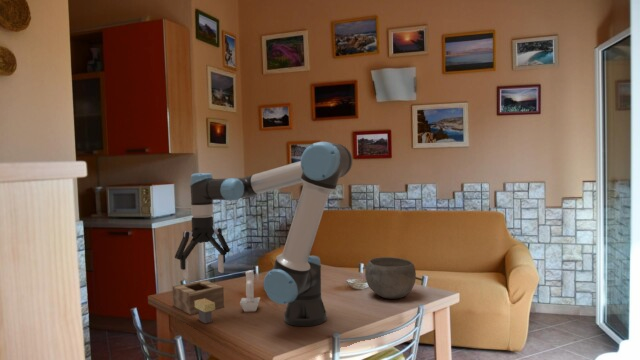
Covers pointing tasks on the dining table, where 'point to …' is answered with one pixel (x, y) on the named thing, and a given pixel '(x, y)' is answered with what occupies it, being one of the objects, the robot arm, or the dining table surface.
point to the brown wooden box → (197, 295)
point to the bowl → (390, 276)
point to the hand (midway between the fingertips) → (203, 275)
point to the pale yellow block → (204, 305)
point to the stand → (205, 316)
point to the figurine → (249, 294)
